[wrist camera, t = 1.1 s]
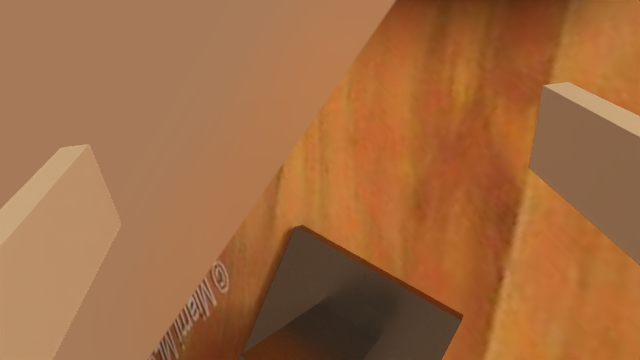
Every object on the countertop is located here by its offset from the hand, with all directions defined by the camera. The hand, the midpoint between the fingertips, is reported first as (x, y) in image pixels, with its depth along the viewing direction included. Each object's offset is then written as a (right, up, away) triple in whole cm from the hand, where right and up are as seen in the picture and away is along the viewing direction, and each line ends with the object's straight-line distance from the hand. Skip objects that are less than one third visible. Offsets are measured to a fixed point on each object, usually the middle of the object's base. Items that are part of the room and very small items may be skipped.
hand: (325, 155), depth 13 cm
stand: (+2, -16, +26) cm, 30 cm away
